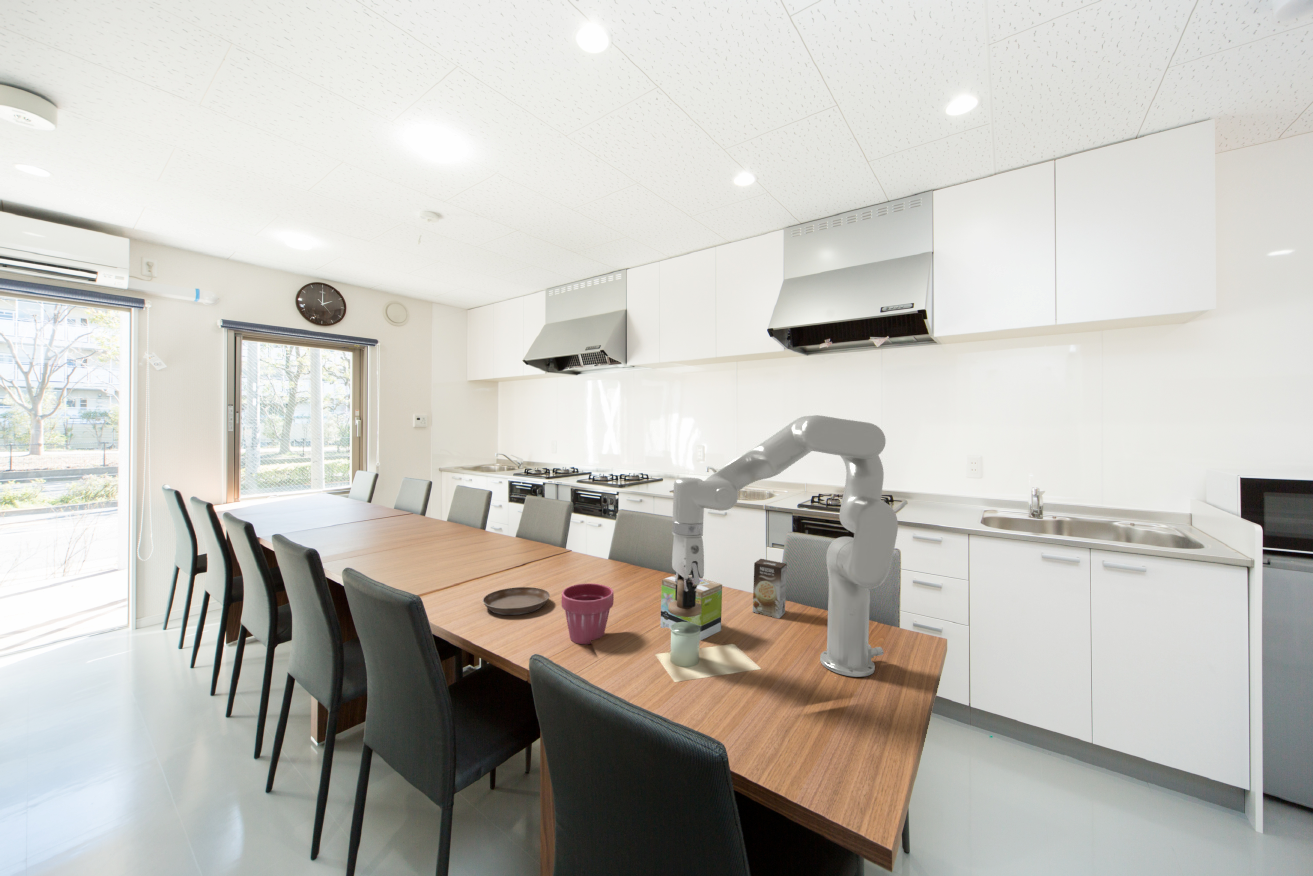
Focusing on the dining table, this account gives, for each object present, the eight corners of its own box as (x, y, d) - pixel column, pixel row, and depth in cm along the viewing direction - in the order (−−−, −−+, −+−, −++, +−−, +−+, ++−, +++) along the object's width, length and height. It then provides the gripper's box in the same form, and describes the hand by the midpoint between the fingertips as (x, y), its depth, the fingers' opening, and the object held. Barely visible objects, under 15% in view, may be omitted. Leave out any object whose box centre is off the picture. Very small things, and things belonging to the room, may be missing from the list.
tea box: (659, 629, 139) (660, 578, 139) (681, 619, 147) (682, 571, 147) (700, 645, 129) (701, 590, 129) (722, 634, 137) (723, 582, 136)
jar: (692, 652, 123) (693, 620, 122) (704, 665, 116) (705, 632, 116) (665, 655, 120) (666, 623, 120) (676, 669, 113) (676, 635, 113)
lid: (693, 603, 123) (694, 575, 123) (706, 615, 115) (707, 585, 115) (663, 606, 120) (664, 577, 120) (675, 618, 113) (676, 587, 113)
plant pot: (603, 652, 124) (604, 602, 124) (552, 645, 127) (553, 597, 127) (618, 629, 138) (619, 585, 138) (572, 624, 141) (573, 581, 141)
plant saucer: (479, 600, 160) (480, 590, 160) (542, 592, 169) (542, 583, 169) (485, 623, 141) (486, 611, 141) (555, 613, 150) (556, 602, 150)
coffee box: (751, 612, 154) (752, 562, 154) (758, 606, 159) (759, 558, 159) (779, 619, 149) (781, 567, 149) (786, 613, 154) (787, 562, 154)
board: (733, 648, 128) (733, 643, 128) (761, 673, 115) (761, 668, 115) (654, 659, 121) (654, 654, 121) (674, 687, 108) (674, 682, 108)
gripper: (716, 535, 111) (713, 614, 111) (688, 521, 127) (686, 591, 127) (686, 536, 109) (683, 617, 109) (661, 522, 124) (659, 593, 125)
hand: (685, 602), depth 118 cm, fingers closed on lid, 4 cm apart
